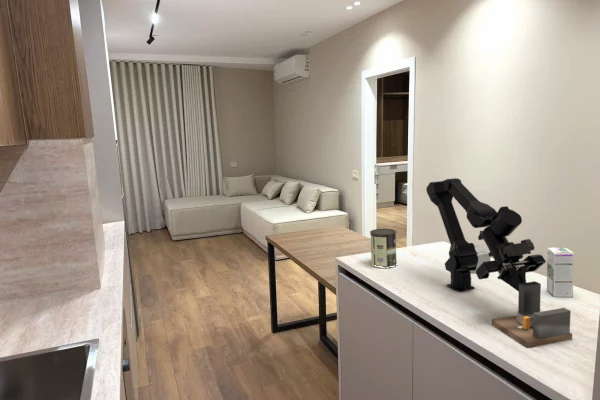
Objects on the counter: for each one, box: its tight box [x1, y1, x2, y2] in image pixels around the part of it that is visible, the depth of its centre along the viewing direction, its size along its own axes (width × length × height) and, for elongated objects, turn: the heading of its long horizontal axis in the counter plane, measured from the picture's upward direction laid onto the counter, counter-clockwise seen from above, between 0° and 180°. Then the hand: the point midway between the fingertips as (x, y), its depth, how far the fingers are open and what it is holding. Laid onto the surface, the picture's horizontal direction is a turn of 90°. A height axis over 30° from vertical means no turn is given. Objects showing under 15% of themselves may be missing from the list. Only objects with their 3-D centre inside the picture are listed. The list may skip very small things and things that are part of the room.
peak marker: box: [523, 316, 530, 329], centre depth 106 cm, size 1×1×3 cm
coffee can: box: [369, 228, 398, 267], centre depth 169 cm, size 10×10×14 cm
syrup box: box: [546, 246, 575, 298], centre depth 130 cm, size 6×6×14 cm
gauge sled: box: [516, 281, 542, 327], centre depth 108 cm, size 6×7×10 cm
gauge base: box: [491, 307, 573, 349], centre depth 108 cm, size 13×13×8 cm
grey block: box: [470, 244, 491, 275], centre depth 159 cm, size 10×13×9 cm
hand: (525, 294), depth 111 cm, fingers closed, pressing on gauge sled
